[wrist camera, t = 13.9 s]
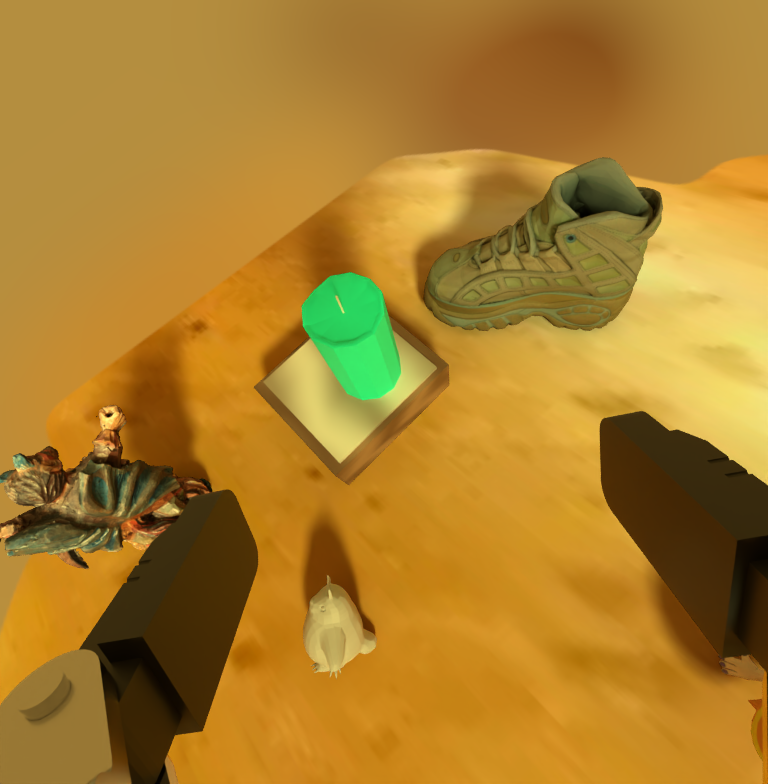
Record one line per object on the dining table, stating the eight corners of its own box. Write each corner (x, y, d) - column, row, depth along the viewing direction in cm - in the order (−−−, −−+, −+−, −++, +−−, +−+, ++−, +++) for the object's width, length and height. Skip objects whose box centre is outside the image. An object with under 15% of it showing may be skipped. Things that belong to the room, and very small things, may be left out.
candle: (389, 331, 41) (364, 246, 30) (411, 386, 39) (394, 316, 28) (329, 354, 41) (283, 278, 30) (348, 410, 39) (305, 350, 28)
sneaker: (447, 243, 50) (445, 123, 36) (626, 281, 45) (702, 158, 31) (415, 322, 47) (399, 224, 33) (603, 372, 42) (676, 281, 28)
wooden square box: (368, 316, 48) (358, 288, 43) (449, 384, 44) (448, 362, 39) (273, 404, 46) (251, 385, 41) (348, 485, 42) (334, 475, 37)
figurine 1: (132, 458, 46) (-49, 414, 29) (214, 441, 46) (79, 387, 29) (130, 566, 43) (-76, 588, 26) (219, 549, 42) (69, 561, 25)
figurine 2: (305, 619, 39) (295, 551, 36) (369, 607, 40) (364, 539, 37) (308, 710, 32) (296, 633, 29) (386, 693, 33) (382, 617, 30)
